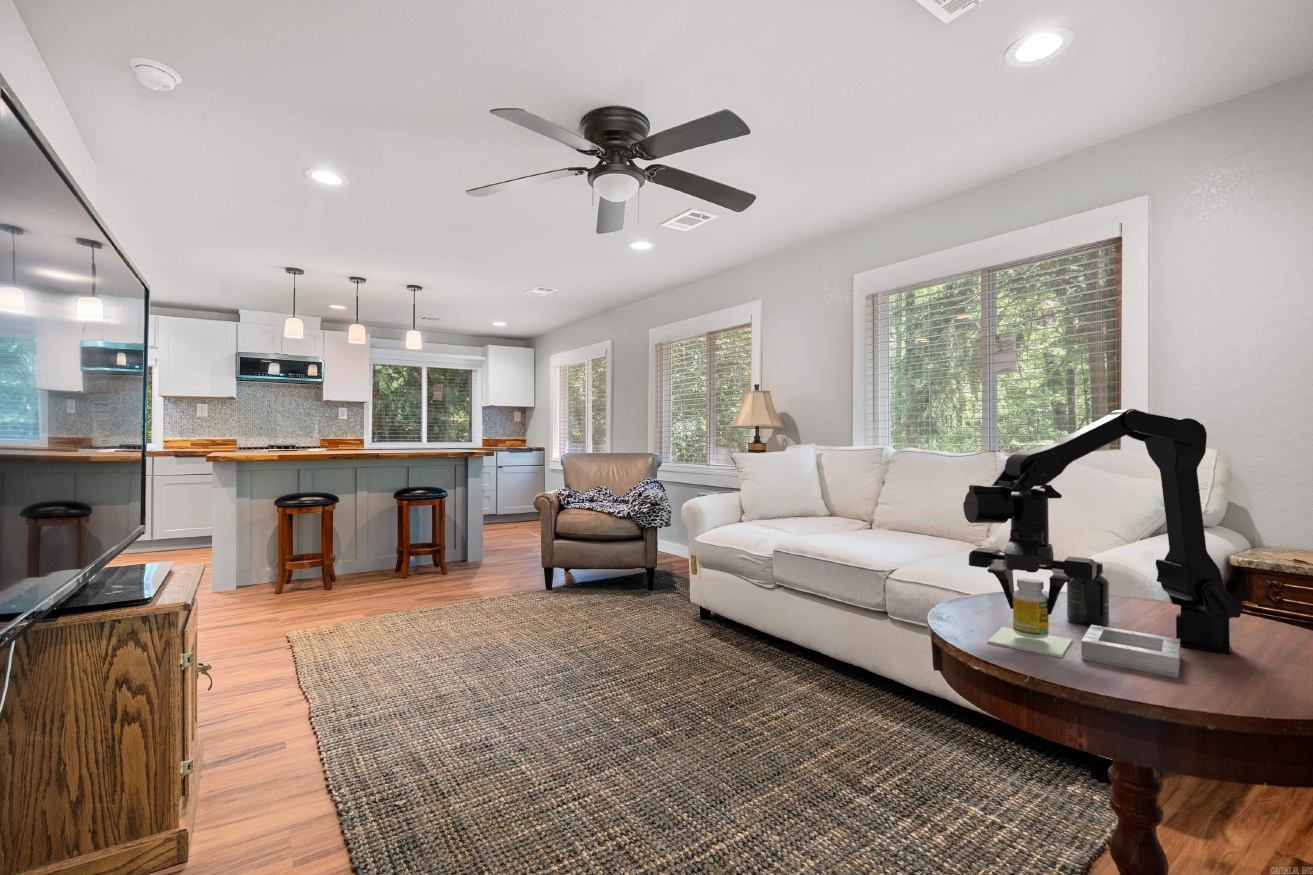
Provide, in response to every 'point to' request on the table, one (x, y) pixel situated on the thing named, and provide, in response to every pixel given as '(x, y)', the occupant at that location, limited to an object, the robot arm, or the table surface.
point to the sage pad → (1031, 643)
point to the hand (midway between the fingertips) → (1030, 611)
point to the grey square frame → (1132, 650)
